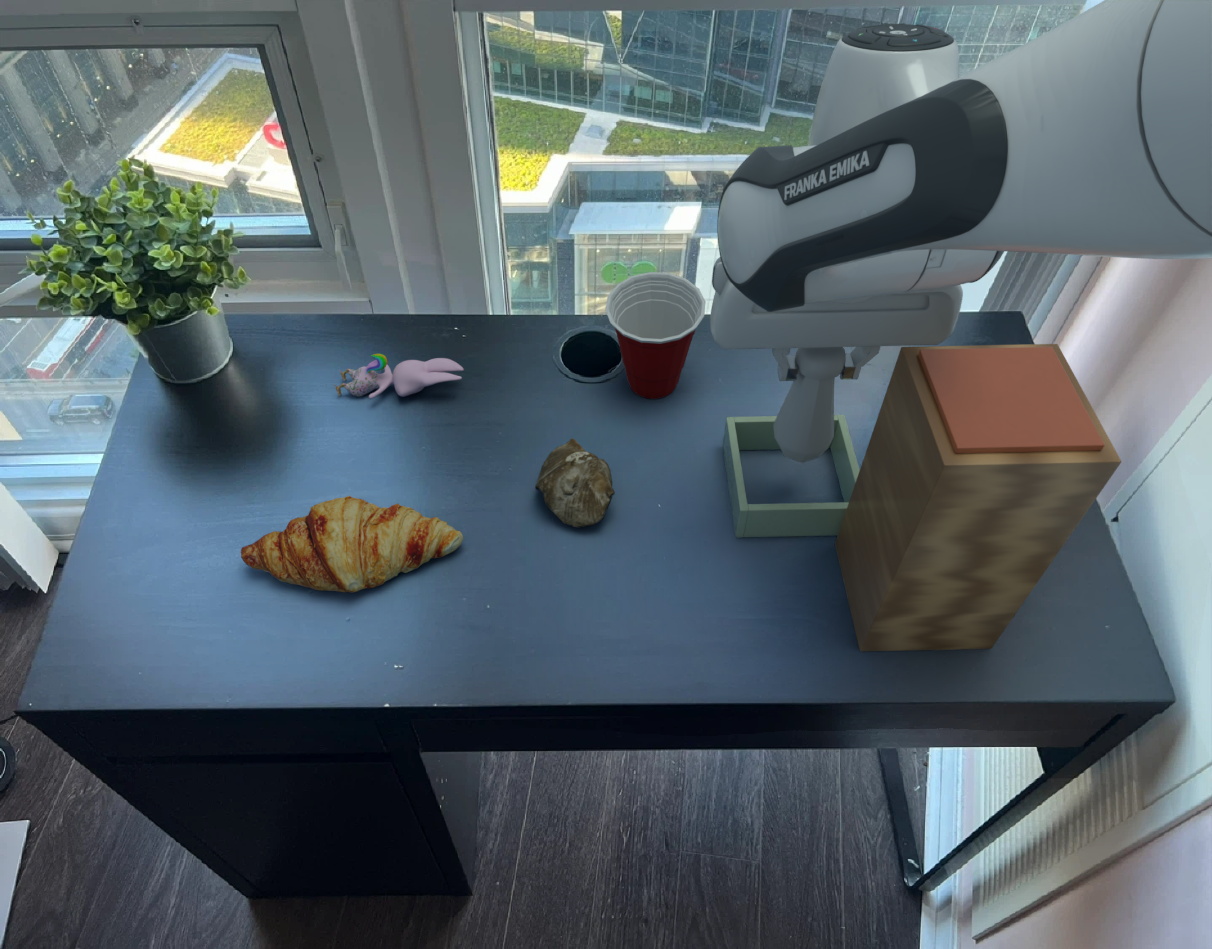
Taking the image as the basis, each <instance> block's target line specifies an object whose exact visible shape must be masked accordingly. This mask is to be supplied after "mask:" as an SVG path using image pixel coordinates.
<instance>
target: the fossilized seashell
mask: <svg viewBox="0 0 1212 949" xmlns="http://www.w3.org/2000/svg"><path fill="white" fill-rule="evenodd" d="M534 487H535V490H537V491H540V492H541V494H542V496H543V501H544V503H545V505H546V506H547V508H548V509H549V510H550V511H551V512H552V513H553V514H554V515H555V517H557V518H558V519H559V521H561V522H562V524H565V525H567V526H569V527H574V528H579V529H581V528H583V527H591V526H594V525H595V524H598V523H599V522H601V521H602V520H603V519H604V517H605V515H606V512H607V510H608V508H609V507H610V504H611V500H612V496H614V495H615V494H616V492H615V490H614V488H613V477H612V470H611V468H610V466H609V463H608V462H607V461H606V460H605V459H603V458H599V457H598V455H596V454H595V453H592V452H589V451H586V450H585V449H584V447H583V446H582V445H581V444H580V443H579V442H578V441H577V440H576V439H575V438H570V439H569V440H568V441H567V442H566V443H564V444H562V445H559V446H557V447H555V448H554V449H553V450H552V451H550V453H549V454H548V456H547V457H546V459H544V461H543V463H542V466H541V468H540V471H539V474H538V478H537V481H536V484H535V485H534Z"/></svg>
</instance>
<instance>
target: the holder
mask: <svg viewBox="0 0 1212 949" xmlns="http://www.w3.org/2000/svg"><path fill="white" fill-rule="evenodd" d="M777 416H778V415H762V416H761V415H759V416H758V415H757V416H727V417H725V423H724V424H725V425H724V432H723V438H722V452H723V459H724V466H725V472H726V480H727V486H728V493H729V499H730V500H729V501H730V509H731V515H732V523H733V529H734V537H735V538H777V537H781V538H782V537H821V536H825V537H826V536H828V537H829V536H838V533H839V530H840V527H841V524H842V521H843V518H844V516H845V513H846V510H847V507H848V504H849V501H850V498H851V495H852V492H853V489H854V486H855V483H856V480H857V477H858V474H859V471H860V466H859V462H858V459H857V456H856V451H855V448H854V445H853V441H852V437H851V434H850V429H849V426H848V423H847V419H846V416H845V414H834V437H833V439H832V441H831V443H830V445H829V447H828V449H830V452H831V455H832V459H833V463H834V467H835V472H836V475H837V479H838V484H839V486H840V491H841V494H842V500H843V502H839V501H838V502H796V503H795V502H793V503H790V502H789V503H788V502H787V503H748V498H747V492H746V486H745V485H746V484H745V481H744V479H745V478H744V473H743V466H742V460H741V454H740V451H759V450H761V451H762V450H763V451H764V450H781V448H780V446H779V444H778V443H777V441H776V439H775V438H774V425H773V424H774V422H775V420H776V418H777Z"/></svg>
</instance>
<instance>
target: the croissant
mask: <svg viewBox="0 0 1212 949" xmlns="http://www.w3.org/2000/svg"><path fill="white" fill-rule="evenodd" d="M463 541H464V535H463V533H462V532H461V531H460V530H457V529H455V528H454V527H453V526H451V525H449V524H448V522H447V521H444V520H441V519H440V517H438V516H434V517H427V516H424V515H423V514H422V513H420V511H417V510H415V509H414V508H412V507H411V506H405V505H401V504H400V503H394V504H391V505H390V506H389V507H387V506H386V507H385V506H383V507H380V506H378V505H376V504H374V503H371V502H368V501H366V500H365V499H361V498H357V497H352V496H351V495H347V496H344V497H335V498H334V499H330V500H325V501H322V502H319V503H317V504H313V506H310V510H309V512H308V514H307V515H304V516H302V517H301V516H299V517H296V518H292V519H290V520H289V522H288V523H287V525H286V527H285V529H284V530H283V531H279V530H278V531H277V530H276V531H271V532H269V533H266V534H264V535H262V536H261V537H260V538H259V539H257V540H256V541H255V542H253V543H251V544H248V545H245V546H242V547H241V549H240V558H241V559H242V561H243V562H244V563H245V565H247V566H248V567H250V568H251V569H253V570H257V571H264V572H265V573H269V574H270V575H271V576H272V577H273V578H275V579H277V580H278V581H280V582H283V583H287V584H290V585H294V586H302V587H304V588H309V589H312V590H315V591H324V592H325V591H326V592H339V593H357V592H359V591H361V590H364V589H374V588H376V587H379V586H381V585H384V584H385V582H387V581H389V580H391V579H393V578H395V577H397V576H398V574H399V573H404V574H406V573H409V572H411V571H413V570H416V569H418V568H419V567H420V566H422V565H424V563H427V562H430V560H431V559H440V558H443V557H445V556H446V555H449V554H452V553H453V552H454V551H456V550H457V549H458V548H459V547H460V546H461V545H462V543H463Z"/></svg>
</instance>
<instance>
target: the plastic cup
mask: <svg viewBox="0 0 1212 949" xmlns="http://www.w3.org/2000/svg"><path fill="white" fill-rule="evenodd" d="M706 303H707V302H706V300H705V297H704V295H703V293H702V291H701V290H700V288H699V287H698V286H696V285H695V284H693V283H692V282H691V281H690V280H688V278H686V277H682V276H679V275H675V274H674V273H670V272H659V271H658V272H657V271H649V272H644V273H640V274H635V275H631V276H629V277H628V278H625V279H624V280H622V281H620V282H619V283H617V284H616V285H615V286H614V287H613V289H612V290H611V291H610V293H609V294H608V295H607V297H606V303H605V309H604V310H605V312H606V313H605V314H606V315H607V318H608V320H609V323H610V325H611V326H612V327H613V328H614V330H615V332H616V337H617V342H618V346H619V351H620V355H621V358H622V364H623V367H624V370H625V374H626V380H627V382H628V385H629V387H630V389H631V391H633V392H634V394H636V395H637V396H640V397H642V398H644V399H653V400H656V399H661V398H665V397H667V396H669V395H671V394H672V393H673V392H674V391H675V389H676V387H677V385H678V384H679V382H680V378H681V374H682V370H683V369H684V367H685V363H686V360H687V357H688V354H689V350H690V347H691V343H692V340H693V337H694V335H695V333H696V330H697V328H698V327H699V325H700V323H701V322H702V321H703V319H704V318H705V314H706Z"/></svg>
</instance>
